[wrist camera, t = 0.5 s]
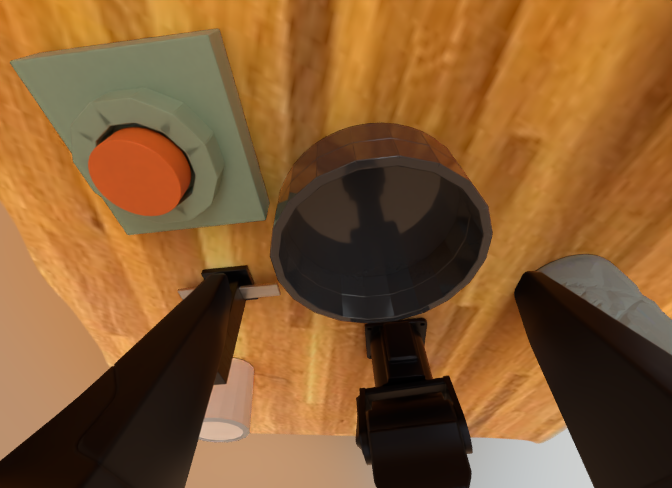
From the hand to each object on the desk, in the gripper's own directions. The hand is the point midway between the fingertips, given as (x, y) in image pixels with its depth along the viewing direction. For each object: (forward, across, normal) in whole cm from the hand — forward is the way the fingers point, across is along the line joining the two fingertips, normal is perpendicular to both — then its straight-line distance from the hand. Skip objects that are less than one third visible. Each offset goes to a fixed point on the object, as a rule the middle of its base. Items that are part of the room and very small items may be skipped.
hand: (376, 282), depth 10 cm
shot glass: (+14, +13, +30) cm, 36 cm away
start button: (+10, +11, +1) cm, 15 cm away
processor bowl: (+14, -2, +7) cm, 16 cm away
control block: (+14, +11, +1) cm, 18 cm away
